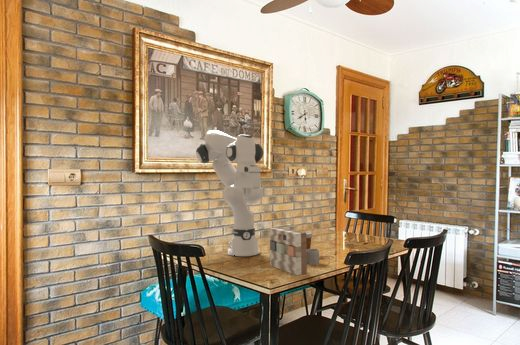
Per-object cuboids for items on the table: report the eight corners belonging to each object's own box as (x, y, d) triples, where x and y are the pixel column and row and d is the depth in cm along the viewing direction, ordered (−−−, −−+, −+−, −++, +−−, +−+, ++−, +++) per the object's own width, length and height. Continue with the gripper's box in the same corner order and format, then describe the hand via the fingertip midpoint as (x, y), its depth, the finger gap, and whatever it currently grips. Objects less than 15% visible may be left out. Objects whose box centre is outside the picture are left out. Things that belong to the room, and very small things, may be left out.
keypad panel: (269, 265, 191) (269, 228, 191) (279, 263, 194) (279, 227, 194) (296, 275, 172) (295, 233, 172) (306, 273, 175) (306, 232, 175)
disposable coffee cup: (305, 257, 208) (305, 234, 208) (291, 255, 214) (291, 233, 214) (316, 254, 215) (315, 232, 215) (301, 252, 221) (301, 231, 221)
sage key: (276, 252, 183) (276, 243, 183) (281, 251, 184) (281, 243, 184) (281, 253, 179) (281, 245, 179) (286, 253, 181) (286, 244, 181)
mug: (315, 261, 198) (315, 248, 198) (321, 264, 192) (321, 250, 192) (297, 263, 195) (297, 249, 195) (303, 266, 189) (302, 252, 189)
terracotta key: (288, 254, 177) (287, 245, 177) (293, 254, 178) (293, 245, 178) (293, 256, 173) (293, 247, 173) (298, 255, 175) (298, 246, 175)
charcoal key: (270, 249, 190) (270, 241, 190) (275, 248, 191) (275, 240, 191) (274, 250, 186) (274, 242, 186) (280, 250, 188) (280, 241, 188)
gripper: (230, 169, 194) (231, 197, 194) (250, 168, 176) (251, 199, 176) (241, 168, 197) (242, 196, 197) (263, 168, 179) (263, 198, 179)
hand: (246, 197), depth 186 cm, fingers closed
